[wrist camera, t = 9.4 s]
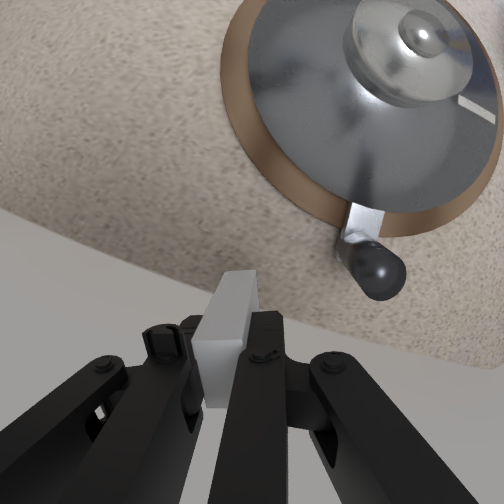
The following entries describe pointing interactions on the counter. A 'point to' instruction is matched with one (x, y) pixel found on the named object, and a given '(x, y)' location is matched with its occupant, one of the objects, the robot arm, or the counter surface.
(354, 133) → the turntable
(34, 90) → the counter surface
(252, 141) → the base
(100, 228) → the counter surface
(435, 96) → the cover
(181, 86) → the counter surface
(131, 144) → the counter surface
